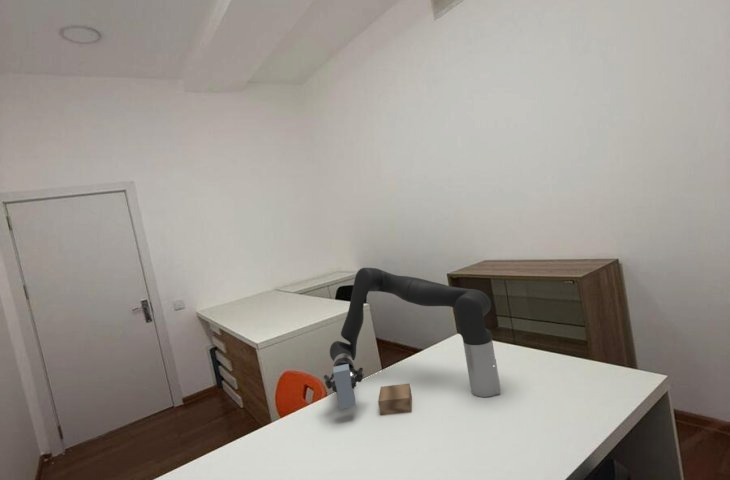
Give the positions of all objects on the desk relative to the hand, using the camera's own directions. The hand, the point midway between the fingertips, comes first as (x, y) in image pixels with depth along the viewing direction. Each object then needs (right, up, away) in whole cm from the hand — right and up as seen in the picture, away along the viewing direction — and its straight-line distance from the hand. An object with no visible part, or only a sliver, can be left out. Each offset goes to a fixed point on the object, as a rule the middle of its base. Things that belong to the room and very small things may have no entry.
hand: (344, 387), depth 124 cm
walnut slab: (+17, -8, +6) cm, 20 cm away
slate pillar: (+1, -6, +3) cm, 7 cm away
